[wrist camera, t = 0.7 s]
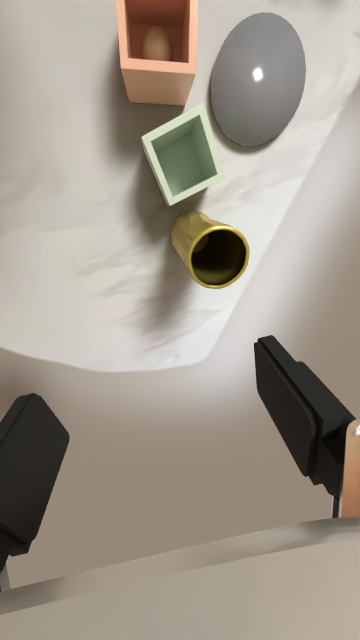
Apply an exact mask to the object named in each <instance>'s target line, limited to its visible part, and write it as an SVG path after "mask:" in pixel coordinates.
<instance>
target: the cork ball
mask: <svg viewBox="0 0 360 640" xmlns="http://www.w3.org/2000/svg"><path fill="white" fill-rule="evenodd" d="M141 58H142V59H145V60H157V61H169V62H172V59H173V48H172V43H171V40H170V38H169V36H168V34H167V33H166V32H165V31H164V30H163V29H162V28H160V27H151V28H149V29H148V30H147V31H146V32H145V34H144V36H143V38H142V42H141Z"/></svg>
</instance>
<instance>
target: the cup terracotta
mask: <svg viewBox="0 0 360 640" xmlns="http://www.w3.org/2000/svg"><path fill="white" fill-rule="evenodd" d="M116 10H117V23H118V37H119V50H120V63H121V71H122V75H123V79H124V83H125V87H126V91H127V95H128V99H129V102H133V103H149V104H165V105H181V106H185V104H186V101H187V98H188V95H189V92H190V89H191V86H192V83H193V80H194V77H195V74H196V47H197V19H198V0H116ZM151 27H160V28H162V29H163V30H164V31H165V32H166V33H167V34H168V36H169V38H170V40H171V43H172V48H173V59H172V62H169V61H157V60H145V59H142V58H141V42H142V38H143V36H144V34H145V32H146V31H147V30H148V29H149V28H151Z"/></svg>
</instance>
